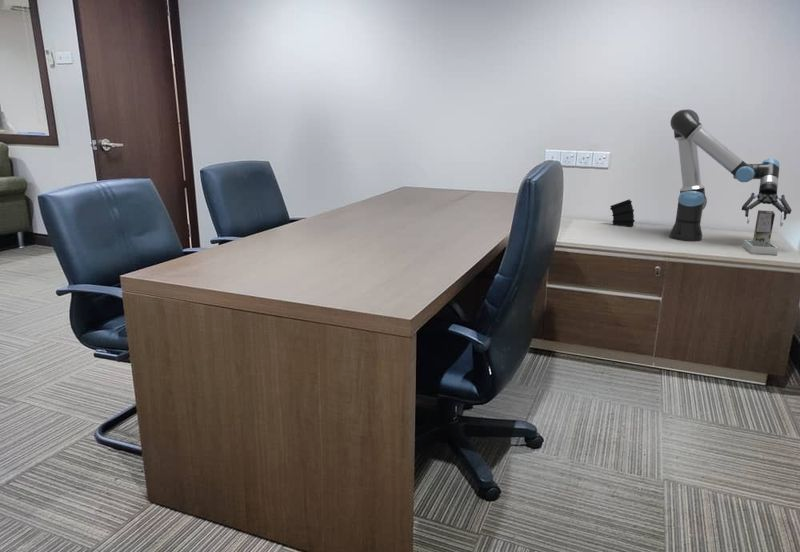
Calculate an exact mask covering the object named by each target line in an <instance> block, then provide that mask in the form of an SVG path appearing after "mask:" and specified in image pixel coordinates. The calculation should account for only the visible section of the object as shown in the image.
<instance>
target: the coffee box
mask: <svg viewBox="0 0 800 552" xmlns="http://www.w3.org/2000/svg"><path fill="white" fill-rule="evenodd" d="M775 216H776V213H775V212H774V211H773V210H772V211H771V210H758V211H757V216H756V222H755V227H754V233H753V237H752V238H753V239H752V241H753V246H759V247H769V244H770V242H771V238H772V234H773V233H772V232H773V228H774V227H773V226H774V221H775Z"/></svg>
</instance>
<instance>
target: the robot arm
mask: <svg viewBox="0 0 800 552" xmlns="http://www.w3.org/2000/svg"><path fill="white" fill-rule="evenodd" d="M670 127H671V129H672V130H673V134H674V135H673V136H674V139H675V140H676V141H677V142H678V152H679V153H678V154H679V163H680V164H679V165H680V172H681V182H682V183H681V185H682V187H681V188H680V190H679V195H678V199H677V200H678V202H677V208H676V217H675V220H674V224H673V226H672V228H671V230H670V232H669V237H670V238H671V239H674V240H680V241H686V242H694V241H695V242H696V241H697V242H699V241H701V240H702V239H703V231H702V226H701V222H702V217H703V216H702V215H703V210H705V208H706V206H707V204H708V198H707V195H706V190H705V186H704V185H703V184H702V183H701V175H700V174H701V172H700V171H701V170H700V162H699V153H698V152H699V151H698V148H700V149H701V150H702V151H703V152H704V153H706V154H707V155H708V156H710V157H711V158H712V159H713V160H715V161H716V162H717V163H718V164H719V165H720V166H722V167H723V168H724V169H725V170H726V171H728V172H729V173H731V174H732V175H733V177H732V178H733V179H734V180H737V181H739V182H740V183H748V182H751V181H752V180H760V181H759V188H758V194H757V193H755V192H751V194H750V197H749V198H748V199H747V200H746V201H745V202H744V203H743V205H742V207H741V211H744V212H745V213H744V214H745V215H744V216H745V217H747V221H746V224H749V223H750V219H751V211H752V209H754V208H755V207H757V206H758V205H760V204H764V205H765V204H766V205H772V206H773V207H775V208H777V210H778V211H779V212H780V213H781V214H780V225H779V226H780V227H782V226H783V225H784V221H786V219H787V214H788V215H790V214H791V212H792V210H793V209H792V208H791V206H790V205H789V203H788V201H787V200H786V198H785V194H781V195H778V186H779V174H780V162H779V161H778V160H777V159H775V158H767V159H764V160H763V161H762V163H746V162H745V161H744V160H743V159H742V158H740V157H739V156H738V155H736V153H734V152H733V151H732V150H730V149H729V148H728V147H727V146H725V144H723V143H722V142H721V141H720V140H718V139H717V138H715V137H714V136H713V135H712V134H711V133H709V131H707V129H705V128H704V127H703V124H702V123H701V122H700V117H699V115H698V114H697V112H696V111H694V110H692V109H690V108H689V109H681V110H680V109H679V110H678V111H675V113H674V114H673V115H672V116H671V119H670ZM756 198H757V199H756ZM755 199H756V200H755ZM753 200H755V201H754V202H753ZM778 200H779V201H780V202H779V201H778ZM751 202H752V203H751Z"/></svg>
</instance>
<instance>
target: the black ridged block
mask: <svg viewBox="0 0 800 552" xmlns="http://www.w3.org/2000/svg"><path fill="white" fill-rule="evenodd" d="M632 203H633V201H632V200H631V199H630V198H629V199H627V200H623V201H621V202H618V203H615V204H612V205H610V210H611V212H612V215H611V216H612V221H611V222H612V225H614V226H621V227H630V228H632V227H634V223H635V214H634V212H635V209H634V208H633V204H632Z"/></svg>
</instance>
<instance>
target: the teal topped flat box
mask: <svg viewBox="0 0 800 552" xmlns="http://www.w3.org/2000/svg"><path fill="white" fill-rule="evenodd" d="M750 243H753V239H752V240H749V239H747V240H746V239H744V240H743V246H742V247H743V248H744V249H745V250H746V251H747V252H748V253H749V254H751V255H767V256H778V252H779V247H778V246H776V245H775V244H773V242H771V241H770V244H769V245H770V246H771V247H759V246H752V245H751V244H750Z"/></svg>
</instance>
